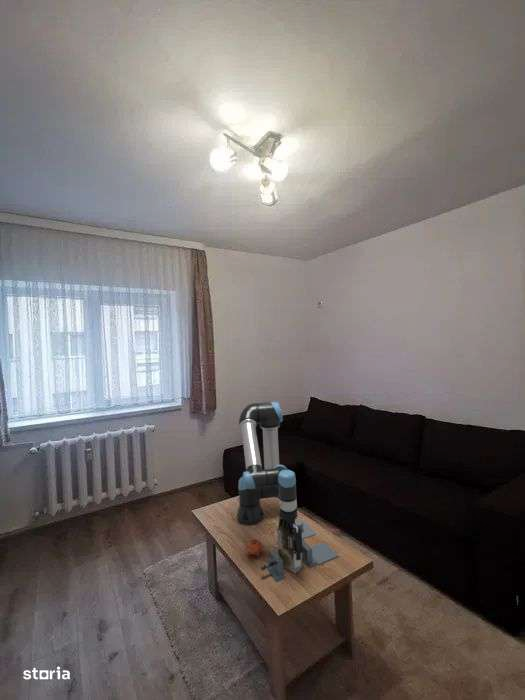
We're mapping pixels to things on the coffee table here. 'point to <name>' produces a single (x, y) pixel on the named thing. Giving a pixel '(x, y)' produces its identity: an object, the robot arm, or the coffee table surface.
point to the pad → (323, 553)
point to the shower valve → (305, 529)
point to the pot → (254, 547)
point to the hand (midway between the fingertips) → (290, 558)
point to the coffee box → (287, 549)
